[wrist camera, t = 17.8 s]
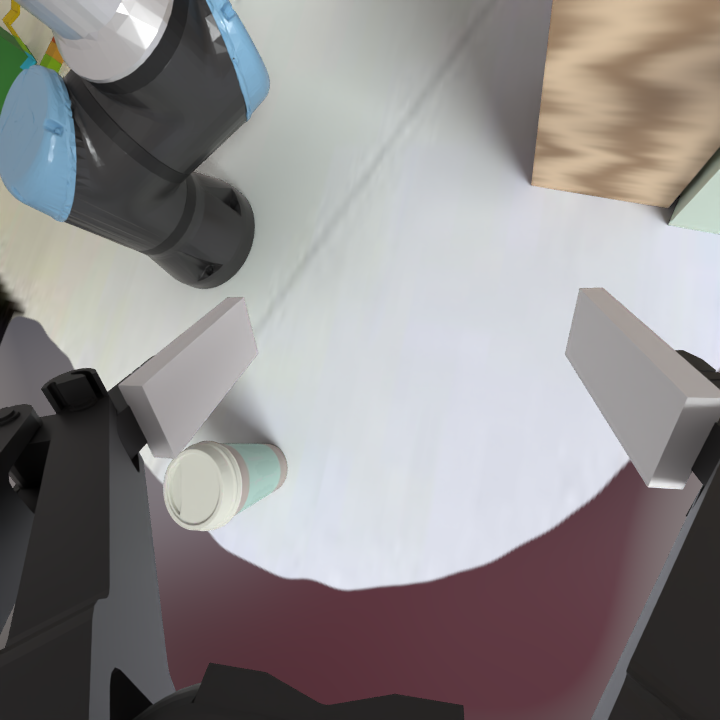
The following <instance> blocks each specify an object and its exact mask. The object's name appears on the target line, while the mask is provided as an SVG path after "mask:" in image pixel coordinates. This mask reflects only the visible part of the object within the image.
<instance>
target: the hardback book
mask: <svg viewBox="0 0 720 720" xmlns="http://www.w3.org/2000/svg"><path fill="white" fill-rule="evenodd" d="M24 45H25V44H24ZM25 46H26V45H25ZM26 48H27V46H26ZM27 49H28V48H27ZM28 51H29V49H28ZM29 52H30V51H29ZM30 53H31V52H30ZM31 55H32V54H31ZM32 56H33V55H32ZM27 58H28V56H27V54H26V53H25V51H24V50H23V49H22V47H21V46H20V44H19V43H18V42H17V40H16V39H15V37H14V36H12V35H11V34H10V33H8V32H7V31H6V30H4V29H3V28H2V27H0V115H1V111H2V108H3V105H4V102H5V99H6V96H7V94H8V92H9V89H10V88H11V86H12V84H13V82H14V81H15V79H16V78H17V76H18V75H19V74H20V73H21V72H22V71H23V69H21V68H20V66H21V65H22V64H23V63H24V61H25V60H26V59H27ZM29 58H30V57H29ZM33 58H34V57H33ZM34 59H35V58H34ZM32 60H33V59H32ZM35 62H36V63H37V61H36V60H35ZM36 63H35V65H36Z"/></svg>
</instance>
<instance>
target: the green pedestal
mask: <svg viewBox="0 0 720 720" xmlns="http://www.w3.org/2000/svg"><path fill="white" fill-rule="evenodd" d="M668 225H670V226H676V227H681V228H687V229H692V230H698V231H703V232H709V233H714V234H720V147H719V148H718V150H717V151H716V152H715V153H714V154H713V155H712V157H711V158H710V159H709V160H708V161H707V163H706V164H705V165H704V166H703V167H702V169H701V170H700V171H699V172H698V173H697V175H696V176H695V177H694V178H693V179H692V180H691V182H690V183H689V184H688V185H687V186H686V188H685V189H684V190H683V191H682V193H681V195H680V198H679V200H678V202H677V205H676V207H675V210H674V212H673V214H672V217H671V219H670V222H669V224H668Z"/></svg>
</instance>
